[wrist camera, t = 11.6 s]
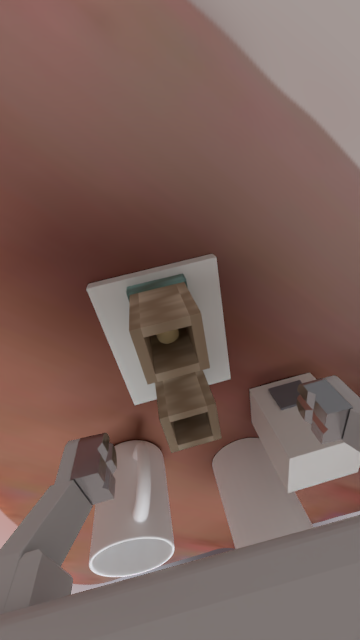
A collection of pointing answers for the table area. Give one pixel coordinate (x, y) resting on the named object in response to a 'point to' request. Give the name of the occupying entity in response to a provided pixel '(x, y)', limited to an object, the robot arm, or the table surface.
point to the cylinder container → (255, 495)
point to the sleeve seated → (187, 411)
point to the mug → (133, 515)
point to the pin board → (120, 319)
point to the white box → (296, 438)
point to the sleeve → (166, 328)
